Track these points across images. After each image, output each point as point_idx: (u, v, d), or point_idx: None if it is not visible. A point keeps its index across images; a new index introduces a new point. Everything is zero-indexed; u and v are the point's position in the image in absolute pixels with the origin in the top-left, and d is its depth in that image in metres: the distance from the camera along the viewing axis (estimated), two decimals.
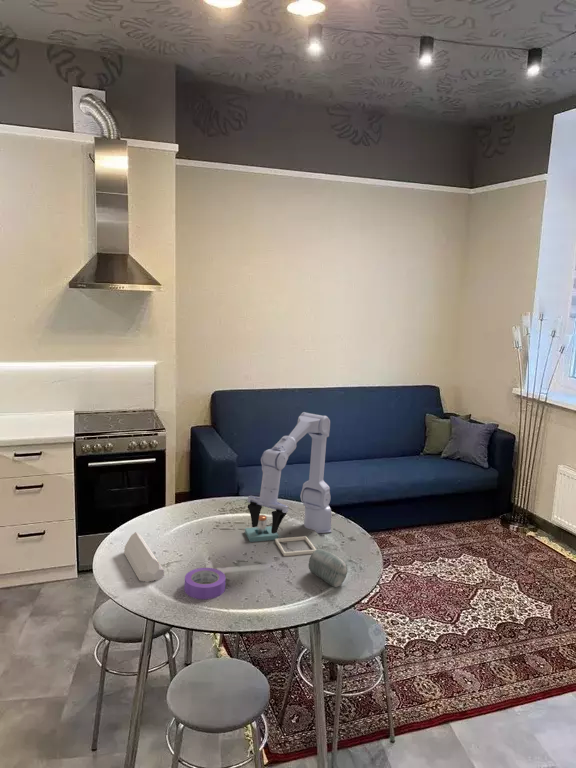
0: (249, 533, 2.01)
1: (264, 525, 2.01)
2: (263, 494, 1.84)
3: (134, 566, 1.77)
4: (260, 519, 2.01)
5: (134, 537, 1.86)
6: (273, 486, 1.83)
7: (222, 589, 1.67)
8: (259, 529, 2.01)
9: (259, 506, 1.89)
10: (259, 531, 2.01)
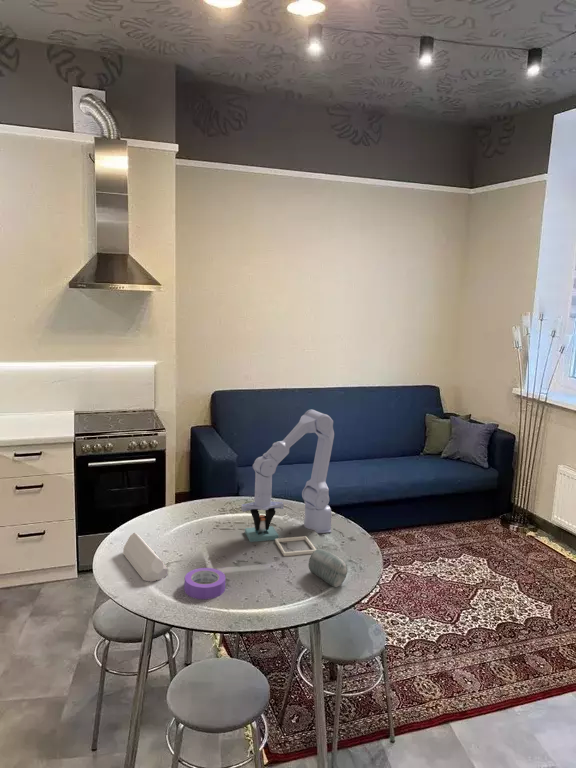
0: (249, 533, 2.01)
1: (264, 525, 2.01)
2: (264, 500, 1.98)
3: (136, 566, 1.77)
4: (260, 519, 2.01)
5: (134, 537, 1.86)
6: (262, 491, 1.98)
7: (222, 589, 1.67)
8: (259, 529, 2.01)
9: None
10: (259, 531, 2.01)
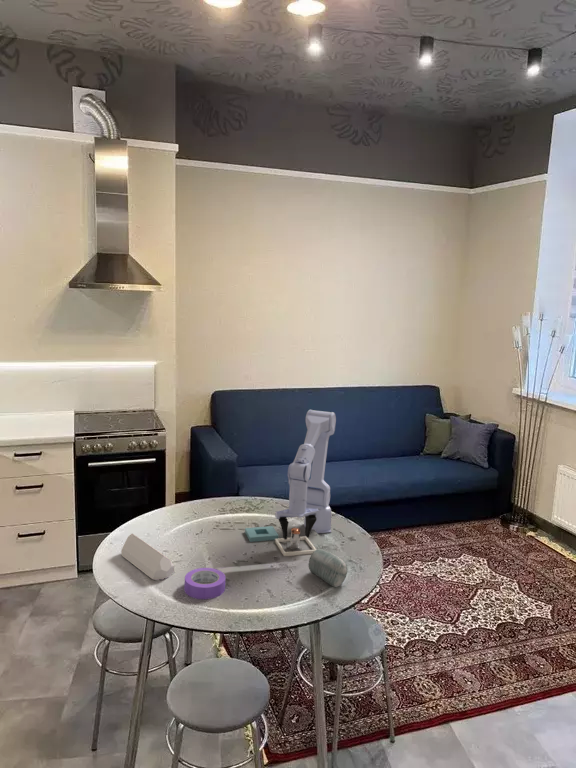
0: (249, 533, 2.01)
1: (298, 538, 1.94)
2: (300, 507, 1.90)
3: (141, 566, 1.77)
4: (295, 532, 1.93)
5: (133, 538, 1.86)
6: (303, 498, 1.90)
7: (222, 589, 1.67)
8: (293, 543, 1.94)
9: None
10: (293, 545, 1.94)
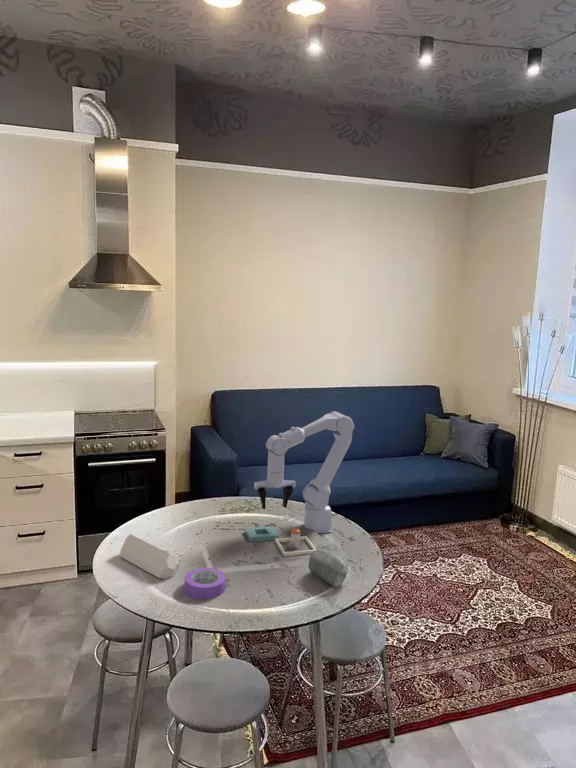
0: (249, 533, 2.01)
1: (298, 538, 1.94)
2: (277, 478, 2.01)
3: (145, 566, 1.77)
4: (295, 532, 1.93)
5: (132, 539, 1.85)
6: (273, 469, 2.01)
7: (222, 589, 1.67)
8: (293, 543, 1.94)
9: None
10: (293, 545, 1.94)
